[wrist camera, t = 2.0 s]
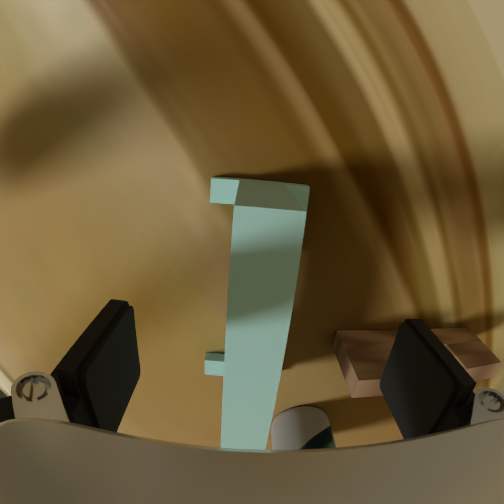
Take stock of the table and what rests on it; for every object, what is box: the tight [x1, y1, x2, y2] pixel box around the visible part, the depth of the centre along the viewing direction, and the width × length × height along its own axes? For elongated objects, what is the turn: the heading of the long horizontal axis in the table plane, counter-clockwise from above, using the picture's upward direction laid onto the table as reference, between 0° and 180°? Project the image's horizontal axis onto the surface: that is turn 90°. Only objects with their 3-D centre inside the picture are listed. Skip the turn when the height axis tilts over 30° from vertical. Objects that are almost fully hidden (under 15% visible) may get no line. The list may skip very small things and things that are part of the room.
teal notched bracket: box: [205, 177, 310, 450], centre depth 18 cm, size 15×6×9 cm, turn 175°
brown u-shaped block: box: [332, 327, 501, 398], centre depth 21 cm, size 14×2×6 cm, turn 85°
